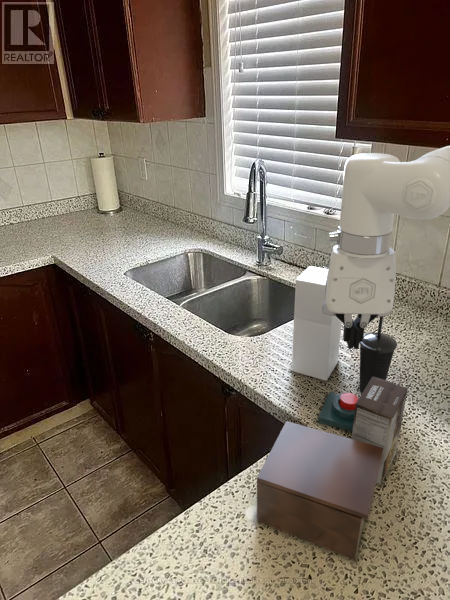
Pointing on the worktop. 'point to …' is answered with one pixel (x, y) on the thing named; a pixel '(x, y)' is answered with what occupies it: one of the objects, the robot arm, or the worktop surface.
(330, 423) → the red push button base
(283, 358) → the worktop surface
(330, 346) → the tall white carton
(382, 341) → the drinking cup
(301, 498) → the chest
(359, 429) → the coffee box
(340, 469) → the lid
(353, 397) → the button
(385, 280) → the robot arm
